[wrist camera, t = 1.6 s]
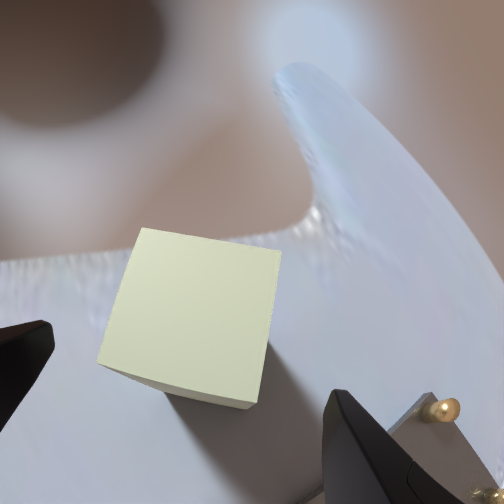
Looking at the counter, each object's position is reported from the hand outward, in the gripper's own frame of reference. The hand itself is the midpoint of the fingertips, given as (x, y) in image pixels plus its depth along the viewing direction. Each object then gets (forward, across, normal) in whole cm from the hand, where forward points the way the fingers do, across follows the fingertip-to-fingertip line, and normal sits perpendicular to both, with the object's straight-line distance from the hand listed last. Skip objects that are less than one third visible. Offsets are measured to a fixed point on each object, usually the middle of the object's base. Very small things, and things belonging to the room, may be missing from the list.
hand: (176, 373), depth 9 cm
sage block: (+9, 0, +6) cm, 10 cm away
